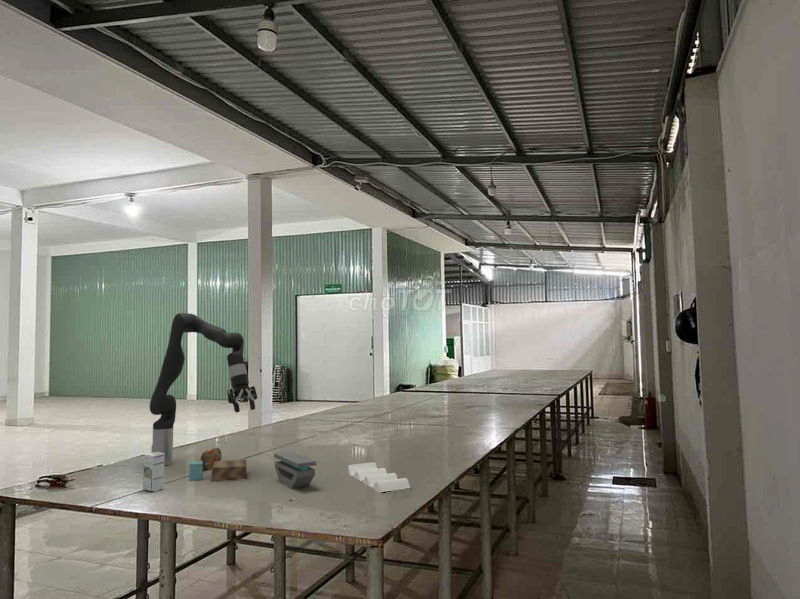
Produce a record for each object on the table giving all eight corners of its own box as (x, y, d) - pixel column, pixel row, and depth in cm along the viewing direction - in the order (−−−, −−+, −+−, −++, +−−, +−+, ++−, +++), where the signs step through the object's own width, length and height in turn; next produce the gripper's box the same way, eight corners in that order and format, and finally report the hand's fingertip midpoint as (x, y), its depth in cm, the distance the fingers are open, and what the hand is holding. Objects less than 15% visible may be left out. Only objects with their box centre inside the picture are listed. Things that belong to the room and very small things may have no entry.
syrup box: (164, 489, 225) (165, 452, 226) (151, 492, 219) (152, 455, 221) (155, 487, 227) (156, 451, 229) (142, 490, 222) (143, 453, 223)
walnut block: (211, 482, 236) (212, 468, 237) (213, 474, 250) (214, 461, 250) (246, 480, 240) (246, 466, 240) (246, 472, 253) (246, 459, 254)
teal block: (189, 480, 238) (189, 464, 238) (190, 478, 243) (190, 461, 243) (201, 480, 239) (202, 463, 240) (202, 477, 244) (202, 461, 245)
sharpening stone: (273, 479, 240) (274, 453, 241) (290, 476, 244) (291, 451, 245) (297, 492, 219) (298, 463, 220) (316, 489, 224) (316, 461, 225)
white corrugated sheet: (381, 496, 215) (381, 482, 215) (348, 476, 246) (348, 465, 246) (411, 492, 221) (411, 478, 221) (375, 473, 252) (375, 462, 252)
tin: (205, 471, 256) (205, 452, 256) (198, 471, 256) (199, 452, 257) (221, 464, 270) (222, 446, 271) (215, 464, 271) (216, 446, 272)
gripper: (245, 376, 258) (252, 410, 255) (220, 378, 247) (227, 415, 243) (256, 372, 255) (263, 407, 251) (231, 374, 243) (238, 411, 239)
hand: (245, 410), depth 247 cm, fingers open, 8 cm apart
